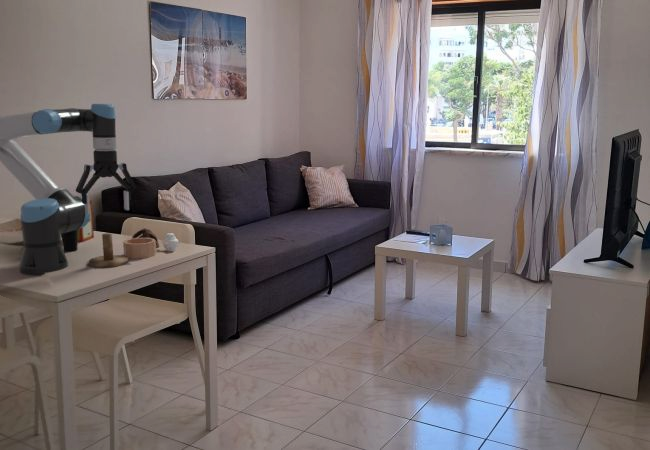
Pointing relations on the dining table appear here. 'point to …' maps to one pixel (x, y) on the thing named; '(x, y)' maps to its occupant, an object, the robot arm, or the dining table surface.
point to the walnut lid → (108, 255)
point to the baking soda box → (86, 229)
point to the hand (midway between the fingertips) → (107, 211)
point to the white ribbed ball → (170, 242)
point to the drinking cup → (70, 241)
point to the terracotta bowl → (139, 248)
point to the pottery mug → (145, 235)
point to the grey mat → (100, 268)
